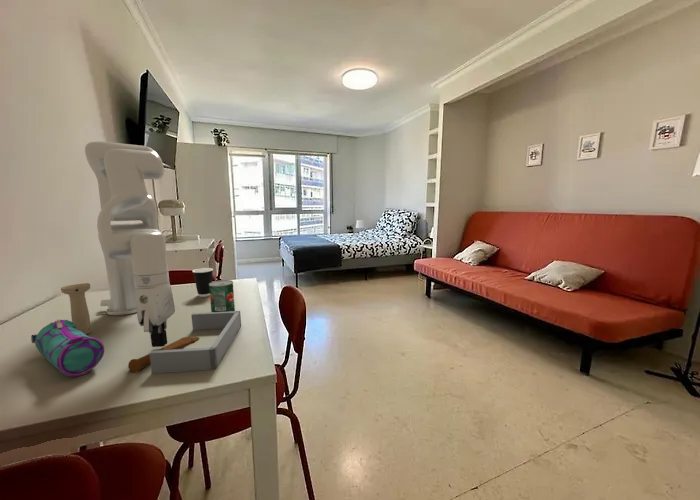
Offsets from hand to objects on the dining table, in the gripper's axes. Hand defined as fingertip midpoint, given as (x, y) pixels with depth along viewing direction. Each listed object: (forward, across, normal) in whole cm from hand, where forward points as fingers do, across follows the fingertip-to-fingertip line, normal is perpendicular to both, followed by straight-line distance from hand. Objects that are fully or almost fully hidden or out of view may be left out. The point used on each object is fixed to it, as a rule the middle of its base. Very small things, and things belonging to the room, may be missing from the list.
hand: (159, 345), depth 82 cm
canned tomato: (+1, +26, -9) cm, 28 cm away
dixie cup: (+1, +49, +5) cm, 49 cm away
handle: (+1, +13, +28) cm, 31 cm away
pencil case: (+1, -5, +18) cm, 19 cm away
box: (+1, 0, -11) cm, 11 cm away
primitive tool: (+2, -2, -3) cm, 4 cm away
